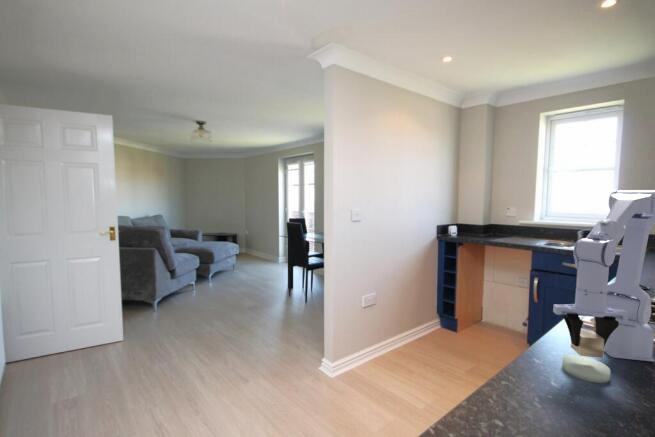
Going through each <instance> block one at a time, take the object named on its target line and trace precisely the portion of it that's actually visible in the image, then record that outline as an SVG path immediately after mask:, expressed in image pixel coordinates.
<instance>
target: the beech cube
mask: <svg viewBox="0 0 655 437" xmlns="http://www.w3.org/2000/svg"><path fill="white" fill-rule="evenodd" d="M570 348H572V350H574V351H575V352H576V353H577V355H578V356H584V357H588V358H599V359H600V358H601V359H603V358H604V351H603V349H604V339H603V338H602V337H601V336H599V335H598V334H596V333H595V332H594V331H593V330H582V329H581V332H580V343H579V346H575V345H573V344H572V343H571V342H570Z"/></svg>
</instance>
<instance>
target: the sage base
mask: <svg viewBox="0 0 655 437" xmlns="http://www.w3.org/2000/svg"><path fill="white" fill-rule="evenodd" d="M561 364H562V366H561V368H562V369H563V371H564V372H566V373H567V374H569V375H570V376H572V377H575V378H577V379H579V380H583V381H586V382H589V383H595V384H605V383H608V382H610V380H611V369H610V367H609V366H608V365H606V364H604V363H603V362H600V361H599V360H596V359H594V358H592V357H588V356H580V355H579V354H576V355H575V354H567V355H564V356H563V357H562V363H561Z"/></svg>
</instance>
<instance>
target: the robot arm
mask: <svg viewBox="0 0 655 437" xmlns="http://www.w3.org/2000/svg"><path fill="white" fill-rule="evenodd" d="M608 207H609V212H608V214H607V216H606V218H605V219H601V220H599V221H598V222H596V224H595V225H594V227H593V228H592V229H591V231H589V233H588V235H587V236H586V238H581V239H578V240H577V241H576V243H575V244H574V246H573V247H574V248H573V251H572V252H573V253H572V254H573V259H574V268H575V269H576V284H575V298H574V303H570V304H569V303H568V304H564V303H563V304H553V308H552V309H553V310H552V313H554V314H555V315H558V316H561V315H562V317H563V319H564V321H565V323H566V326H567V330H568V332H569V337H570V344H571V343H572V344H573V345H575V346H579V343H580V332H581V330H582V327H583V325H584V321H583V320H582V319H581V317H592V318H594V317H595V323H596V334H598V335H599V336H601V337H602V338H603V339H604V349H603V353H605V354H606V355H608V356H609V357H611V358H615V359H624V360H634V361H644V362H645V361H646V362H651V363H652V362H654V361H655V360H654V358H653V350H654V336H655V335H654V331H653V329H652V327H651V326H650V325H649V324H648V322H649V321H650V319H651V315H652V297H651V296H650V294H649V293H647V292H646V291H645V290H643V289H642V287H640V282H641V276H642V272H643V271H642V270H643V267H644V266H643V265H644V260H645V256H646V251H647V246H648V241H649V240H648V239H649V235H650V231H651V230H652V226H654V225H655V189H653V190H652V189H651V190H650V189H646V190H645V189H643V190H642V189H636V190H635V189H633V190H632V189H629V190H627V189H626V190H625V189H623V190H622V189H620V190H619V189H614V190H613V191H612V192H611V193H610V195H609V196H608ZM621 240H622V245H621V251H620V255H619V260H618V266H617V271H616V275H615V276H616V277H615V280H614V281H615V282H612V283H609V274H610V273H609V270H610V266H612V264H614V261H615V257H616V254H617V251H618V247H617V246H618V245H619V243H620V241H621ZM618 294H619V295H618ZM633 297H634V298H633Z"/></svg>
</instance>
